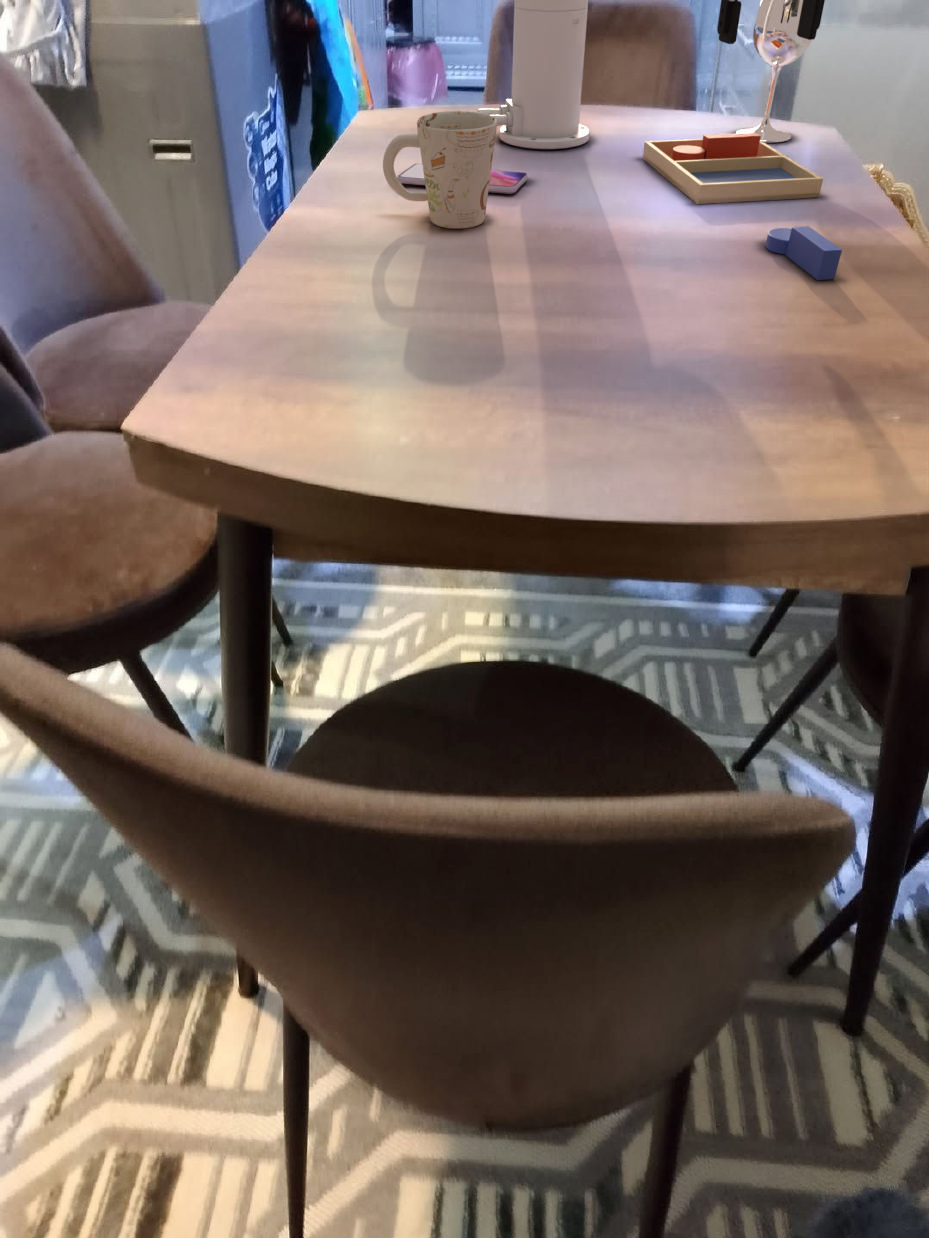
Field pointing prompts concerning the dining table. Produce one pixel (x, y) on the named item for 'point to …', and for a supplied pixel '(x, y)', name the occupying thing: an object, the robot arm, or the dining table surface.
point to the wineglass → (776, 52)
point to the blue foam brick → (806, 250)
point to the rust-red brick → (720, 147)
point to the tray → (733, 174)
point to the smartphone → (498, 182)
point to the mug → (449, 165)
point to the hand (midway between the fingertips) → (766, 40)
